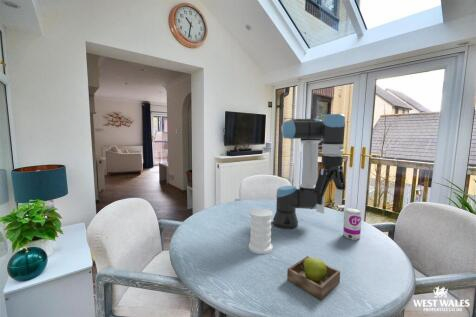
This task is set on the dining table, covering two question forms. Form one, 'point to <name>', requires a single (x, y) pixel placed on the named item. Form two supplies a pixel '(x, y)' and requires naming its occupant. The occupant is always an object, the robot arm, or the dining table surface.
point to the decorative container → (260, 231)
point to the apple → (314, 269)
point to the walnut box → (313, 288)
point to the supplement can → (352, 223)
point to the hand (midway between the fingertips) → (329, 208)
